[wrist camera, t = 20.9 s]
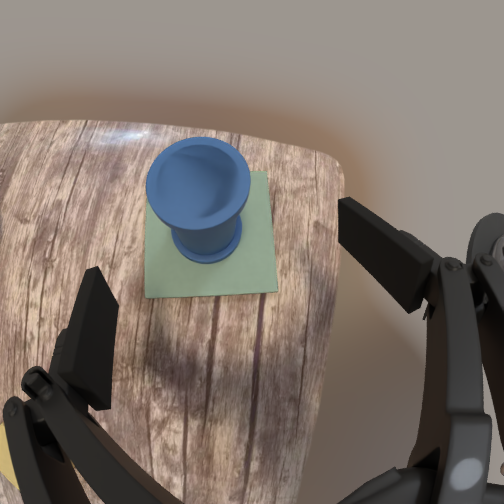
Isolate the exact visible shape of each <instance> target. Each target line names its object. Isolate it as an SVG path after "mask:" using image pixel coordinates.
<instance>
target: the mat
mask: <svg viewBox="0 0 504 504" xmlns="http://www.w3.org/2000/svg"><path fill="white" fill-rule="evenodd" d="M250 177H251V184H250V191H249V196H248V199H247V202H246V204H245V207H244V208H243V210H242V212H241V213H240V217H241V221H242V234H241V239H240V242H239V244H238V246H237V248H236V249H235V250H234V252H233V253H232V254H231V255H230V256H228V257H227V258H226V259H224V260H222V261H220V262H217V263H213V264H199V263H196V262H193V261H191V260H189V259H187V258H186V257H184V256H183V255H182V254H181V253H180V252H179V250H178V249H177V247H176V246H175V244H174V242H173V239H172V235H171V228H170V227H168V226H166V225H165V224H164V223H163V222H162V221H161V220H160V219H159V218H158V217H157V216H156V214H155V213H154V211H153V209H152V208H151V206H150V204H149V202H148V198H147V204H146V223H145V298H147V299H150V298H182V297H206V296H226V295H243V294H259V293H273V292H278V282H277V270H276V259H275V248H274V238H273V227H272V217H271V207H270V197H269V188H268V178H267V171H250Z"/></svg>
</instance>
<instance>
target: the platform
mask: <svg viewBox="0 0 504 504" xmlns="http://www.w3.org/2000/svg"><path fill="white" fill-rule="evenodd" d="M70 461H71V460H70ZM71 463H72V462H71ZM72 466H73V468H74V467H75V466H74V465H73V463H72ZM0 471H1V472H2V474H3V475H4V476H5V477H6V478H7V479H8V480H9V481H10V482H11V483H12V484H13V485H14V486H15V487H16V488H17V489H18V490H19V487H18V483H17V480H16V477H15V473H14V469H13V465H12V461H11V457H10V453H9V448H8V443H7V438H6V432H5V426H4V422H3V423H1V426H0ZM19 491H20V490H19Z"/></svg>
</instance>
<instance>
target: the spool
mask: <svg viewBox="0 0 504 504" xmlns="http://www.w3.org/2000/svg"><path fill="white" fill-rule="evenodd" d="M250 184H251V177H250V171H249V168H248V165H247V163H246V161H245V159H244V158H243V156H242V155H241V154H240V153H239V152H238V151H237V150H236V149H235V148H234V147H233V146H231V145H229V144H228V143H226V142H224V141H221V140H218V139H215V138H210V137H193V138H188V139H184V140H181V141H178V142H176V143H174V144H172V145H171V146H169V147H168V148H166V149H165V150H164V151H162V152H161V153H160V154H159V155H158V157H157V158H156V159H155V160H154V162H153V164H152V165H151V167H150V169H149V172H148V175H147V179H146V194H147V198H148V202H149V204H150V206H151V208H152V209H153V211H154V213H155V214H156V216H157V217H158V218H159V219H160V220H161V221H162V222H163V223H164V224H165V225H166V226H168V227H170V228H171V235H172V239H173V242H174V244H175V246H176V247H177V249H178V250H179V252H180V253H181V254H182V255H183V256H184V257H186V258H187V259H189V260H191V261H193V262H196V263H199V264H213V263H217V262H220V261H222V260H224V259H226V258H227V257H228V256H230V255H231V254H232V253H233V252H234V250H235V249H236V248H237V246H238V244H239V242H240V239H241V234H242V221H241V217H240V213H241V212H242V210H243V208H244V207H245V204H246V202H247V199H248V196H249V191H250Z"/></svg>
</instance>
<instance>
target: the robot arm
mask: <svg viewBox="0 0 504 504" xmlns="http://www.w3.org/2000/svg"><path fill="white" fill-rule="evenodd" d="M338 242H339V243H340V244H341V245H342V246H343V247H344V248H345V249H346V250H347V251H348V252H349V253H350V254H351V255H352V256H353V257H354V258H355V259H356V260H357V261H358V262H359V263H360V264H361V265H362V266H363V267H364V268H365V269H366V270H367V271H368V272H369V273H370V274H371V275H372V276H373V277H374V278H375V279H376V280H377V281H378V282H379V283H380V284H381V285H382V286H383V287H384V288H385V289H386V291H388V293H389V294H390V295H391V296H392V297H393V298H394V299H395V300H396V301H397V302H398V303H399V304H400V305H401V306H402V308H403V309H404V310H405V311H406V312H407V313H408V314H410V313H411V312H413V311H415V310H417V309H419V308H420V307H421V304H422V301H423V298H425V299H426V300H427V301H428V305H427V308H426V310H425V313H424V316H423V320H425V318H426V316H427V347H426V348H427V349H426V368H425V382H424V393H423V402H422V410H421V417H420V424H419V430H418V436H417V440H416V444H415V446H414V448H413V450H412V452H411V455H410V457H409V461H408V465H407V468H403V469H398V470H397V469H396V467H393V468H392V469H390V470H388V471H386V472H385V473H383V474H381V475H379V476H377V477H376V478H374V479H372V480H370V481H368V482H366V483H364V484H363V485H362V486H361V487H359V488H358V489H357V490H355V491H354V492H352V493H351V494H350V495H348V496H347V497H346V498H344V499H343V500H341V501H340V502H339V503H337V504H504V485H498V484H492V483H487V477H488V470H489V462H490V452H491V440H492V419H491V417H490V415H488V414H485V413H484V408H483V405H484V402H483V372H482V364H483V367H484V370H485V374H486V377H487V381H488V385H489V388H490V392H491V396H492V400H493V405H494V410H495V413H496V419H497V424H498V430H499V435H500V439H501V443H502V447H503V450H504V235H502V236H500V237H498V238H497V239H496V240H495V241H494V243H493V244H492V246H491V249H490V252H489V254H487V253H477V254H476V255H475V258H474V261H473V263H468V264H463V263H462V262H461V261H460V260H458V259H456V258H452V257H445V258H442V257H440V256H439V255H438V254H437V253H435V252H434V251H433V250H432V249H430V248H429V247H428V246H426V245H425V244H423V243H422V242H421V241H420V240H418V239H417V238H416V237H414V236H413V235H411V234H409V233H407V232H405V231H402V230H400V231H398V230H397V229H396V228H394V227H393V226H391V225H390V224H389V223H387V222H386V221H384V220H383V219H382V218H380V217H379V216H377V215H376V214H374V213H373V212H372V211H370V210H369V209H367V208H366V207H364V206H362V205H361V204H360V203H358V202H357V201H355V200H354V199H352V198H351V197H346V198H342V199H338ZM486 295H487V297H488V302H486V300H485V297H486ZM118 309H119V305H118V303H117V301H116V299H115V297H114V296H113V294H112V292H111V290H110V288H109V286H108V284H107V282H106V280H105V279H104V277H103V275H102V273H101V271H100V269H99V267H98V266H96V267H93V268H90V269H87V270H86V271H85V274H84V277H83V280H82V283H81V285H80V288H79V291H78V295H77V298H76V301H75V304H74V307H73V311H72V314H71V317H70V321H69V325H68V328H66V329H63V330H62V331H61V333H60V334H59V336H58V338H57V340H56V344H55V349H54V352H53V356H52V360H51V364H50V369H49V373H47V372H46V371H45V370H44V369H43V368H42V367H40V366H35V367H32V368H30V369H29V370H28V371H27V372H26V373H25V374H24V376H23V379H22V382H21V388H22V390H23V391H24V392H25V393H26V394H27V395H28V396H29V397H30V398H31V399H30V400H28V401H26V402H23V401H22V400H21V399H20V398H19V397H16V396H14V397H11V398H10V399H9V400H7V402H6V403H5V405H4V408H3V419H4V426H5V432H6V438H7V443H8V448H9V453H10V457H11V461H12V465H13V469H14V473H15V477H16V480H17V483H18V487H19V490H20V493H21V496H22V499H23V502H24V504H91V503H90V501H89V499H88V497H87V495H86V493H85V491H84V489H83V487H82V485H81V483H80V481H79V479H78V477H77V475H76V472H75V470H74V468H73V466H72V463H73V465H74V466H75V467H76V469H77V470H78V471H79V473H80V474H81V475H82V477H83V478H84V479H85V480H86V482H87V483H88V484H89V486H90V487H91V488H92V489H93V490H94V492H95V493H96V494H97V495H98V496H99V497H100V499H101V500H102V501H103V502H104V503H105V504H184V503H182V502H181V501H180V500H179V499H177V498H176V497H175V496H173V495H172V494H171V493H170V492H168V491H167V490H166V489H165V488H164V487H162V486H161V485H160V484H159V483H158V482H156V481H155V480H154V479H153V478H152V477H151V476H150V475H149V474H147V473H146V472H145V471H144V470H143V469H142V468H141V467H140V466H139V465H138V464H137V463H136V462H135V461H134V460H132V459H131V458H130V457H129V456H128V455H127V454H126V453H125V452H124V451H123V449H122V448H121V447H120V446H119V445H118V444H117V443H116V442H115V441H114V440H113V439H112V438H111V437H110V436H109V435H108V433H107V432H106V431H105V430H104V429H103V428H102V427H101V425H100V424H99V423H98V422H97V421H96V420H95V418H94V417H93V416H92V415H91V414H90V413H89V412H88V404H89V405H90V406H91V407H92V408H93V409H94V410H96V411H100V410H108V409H111V392H112V371H113V357H114V345H115V335H116V326H117V317H118ZM70 460H71V461H70ZM71 462H72V463H71ZM500 469H501V474H502V475H503V476H504V463H503V464H502V466H501V468H500Z"/></svg>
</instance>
